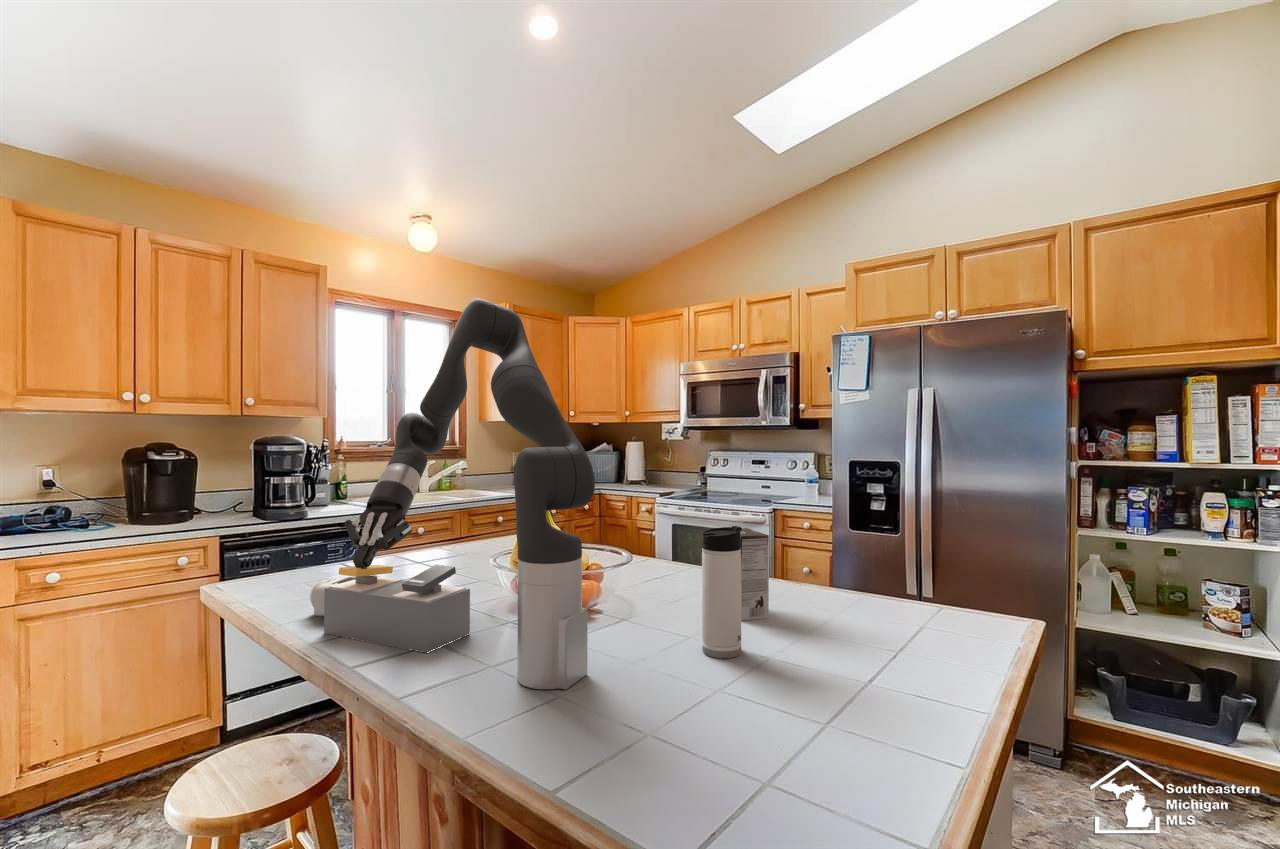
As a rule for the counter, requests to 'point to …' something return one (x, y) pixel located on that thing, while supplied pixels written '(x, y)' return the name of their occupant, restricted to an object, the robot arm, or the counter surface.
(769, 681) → the counter surface
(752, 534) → the coffee box
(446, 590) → the grey switch box
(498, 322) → the robot arm
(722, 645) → the travel mug
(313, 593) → the cable organizer
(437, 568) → the black rocker
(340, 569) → the amber rocker
